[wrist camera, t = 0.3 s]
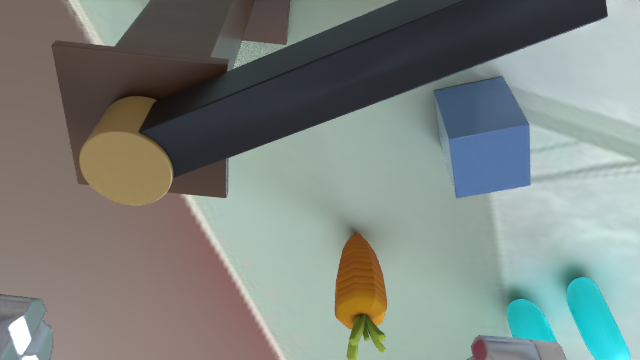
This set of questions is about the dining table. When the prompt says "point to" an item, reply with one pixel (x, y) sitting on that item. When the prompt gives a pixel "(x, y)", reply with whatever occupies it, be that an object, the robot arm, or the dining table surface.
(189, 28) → the stand
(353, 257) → the carrot
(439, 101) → the matte blue box
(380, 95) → the rod
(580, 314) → the cyan rounded twin part
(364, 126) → the dining table surface
